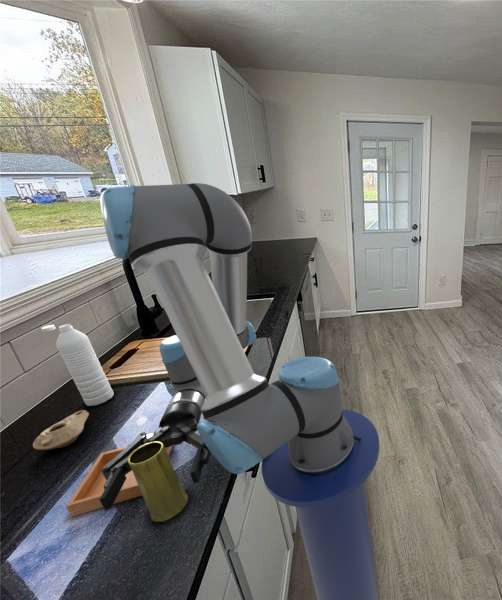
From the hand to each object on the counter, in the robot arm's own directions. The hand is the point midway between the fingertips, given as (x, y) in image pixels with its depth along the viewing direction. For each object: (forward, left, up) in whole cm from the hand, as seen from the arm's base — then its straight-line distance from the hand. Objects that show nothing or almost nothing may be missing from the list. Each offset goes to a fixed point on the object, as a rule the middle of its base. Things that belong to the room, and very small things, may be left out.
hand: (151, 490), depth 56 cm
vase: (0, -3, -8) cm, 9 cm away
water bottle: (+32, -52, -8) cm, 61 cm away
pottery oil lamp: (+30, -35, -8) cm, 47 cm away
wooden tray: (+11, -15, -8) cm, 20 cm away
